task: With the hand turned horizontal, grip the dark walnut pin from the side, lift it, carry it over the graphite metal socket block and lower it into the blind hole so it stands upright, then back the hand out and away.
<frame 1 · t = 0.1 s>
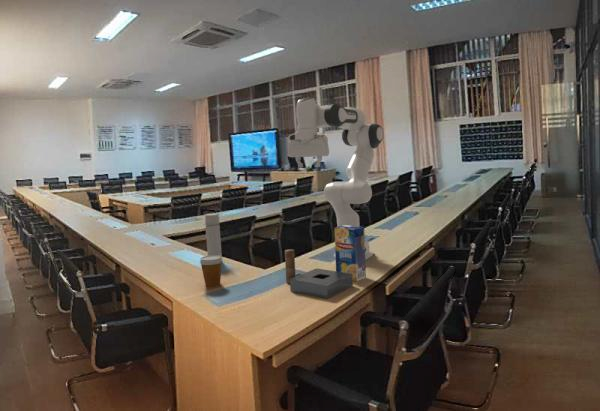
hand: (309, 167, 196), 48 cm above the table, tool pointing down, fingers open, 8 cm apart
beverage box: (350, 277, 193), on the table
walnut pin: (291, 282, 189), on the table
socket block: (321, 288, 180), on the table
water bottle: (214, 262, 233), on the table
disposable coffee cup: (212, 285, 192), on the table
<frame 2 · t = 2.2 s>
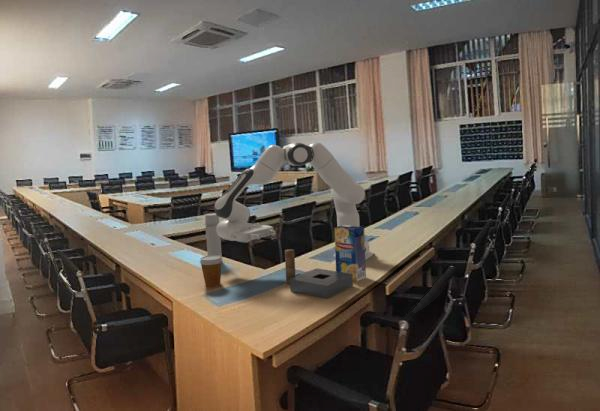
hand: (267, 235, 194), 20 cm above the table, tool horizontal, fingers open, 8 cm apart
nothing on the table moved.
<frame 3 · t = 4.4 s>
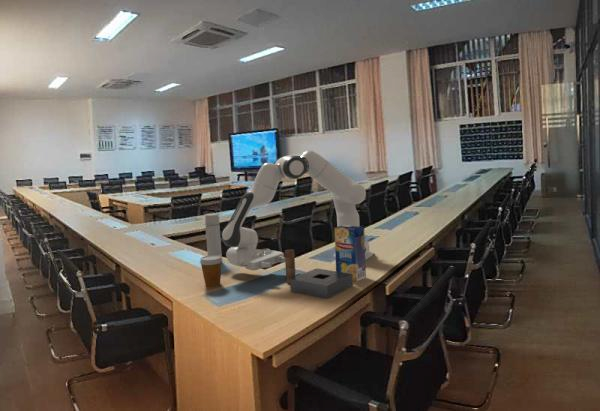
hand: (278, 262, 193), 8 cm above the table, tool horizontal, fingers open, 8 cm apart
nothing on the table moved.
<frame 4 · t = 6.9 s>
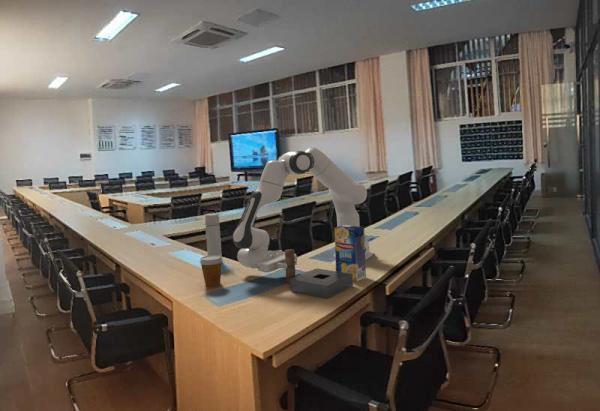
hand: (291, 264, 188), 8 cm above the table, tool horizontal, fingers closed on walnut pin, 4 cm apart
walnut pin: (291, 282, 189), on the table, touching gripper
everything else where it was.
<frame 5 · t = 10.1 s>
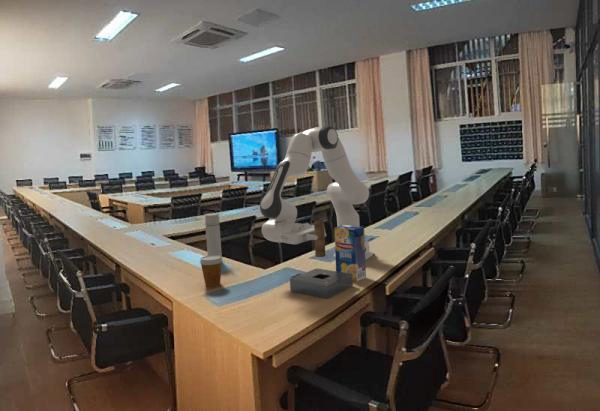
hand: (321, 236, 176), 21 cm above the table, tool horizontal, fingers closed on walnut pin, 4 cm apart
walnut pin: (320, 255, 178), point 13 cm above the table, touching gripper
everything else where it was.
when the fingers open (10 cm above the table, at t = 13.3 s): walnut pin stays where it is, resting on socket block.
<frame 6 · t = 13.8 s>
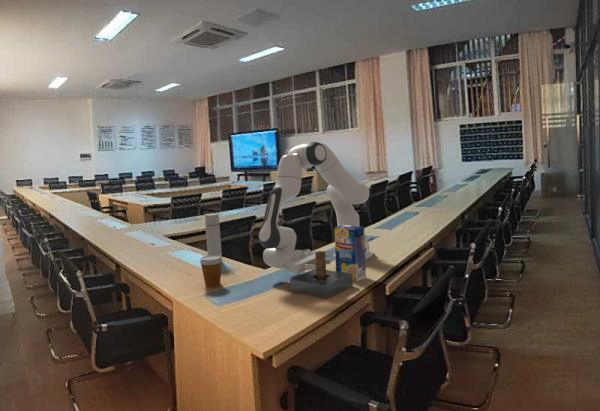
hand: (322, 264, 178), 10 cm above the table, tool horizontal, fingers open, 8 cm apart
walnut pin: (321, 286, 179), point 1 cm above the table, touching socket block
everything else where it was.
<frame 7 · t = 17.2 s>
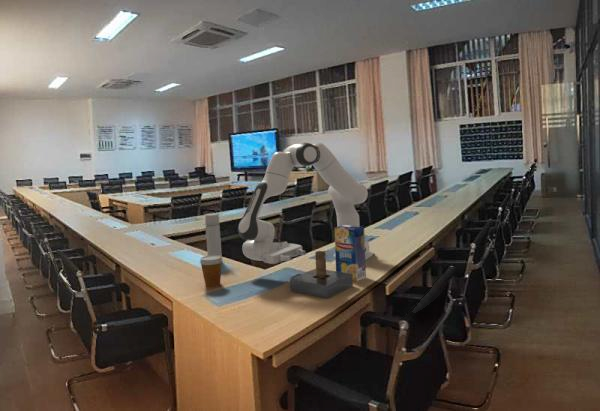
hand: (297, 255, 186), 12 cm above the table, tool horizontal, fingers open, 8 cm apart
nothing on the table moved.
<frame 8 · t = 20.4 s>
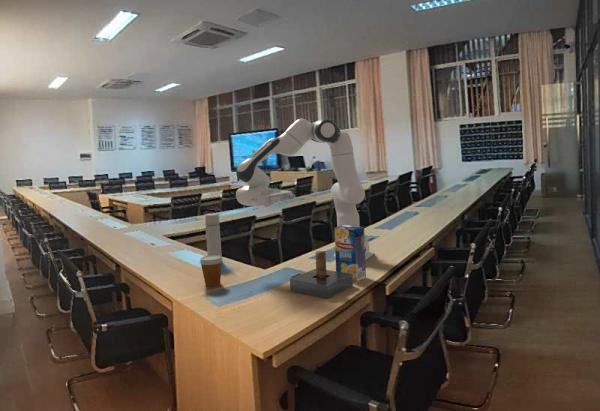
hand: (287, 198, 196), 35 cm above the table, tool horizontal, fingers open, 8 cm apart
nothing on the table moved.
at the end: walnut pin 0.0 cm off-centre on the socket block, point 1.0 cm above the socket block's base; walnut pin tilted 0°; the gripper is holding nothing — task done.
